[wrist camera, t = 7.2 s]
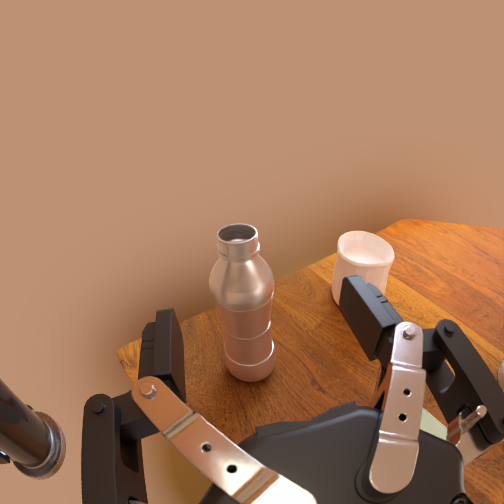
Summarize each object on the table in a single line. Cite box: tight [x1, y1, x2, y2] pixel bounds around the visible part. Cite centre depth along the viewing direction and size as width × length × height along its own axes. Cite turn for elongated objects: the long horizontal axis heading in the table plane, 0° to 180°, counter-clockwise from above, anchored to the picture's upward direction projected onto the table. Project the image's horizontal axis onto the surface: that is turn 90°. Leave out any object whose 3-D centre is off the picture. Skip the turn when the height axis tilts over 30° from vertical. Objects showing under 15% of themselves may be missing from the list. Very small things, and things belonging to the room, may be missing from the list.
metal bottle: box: [209, 224, 276, 382], centre depth 30 cm, size 6×7×20 cm
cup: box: [332, 231, 394, 306], centre depth 43 cm, size 10×10×10 cm
